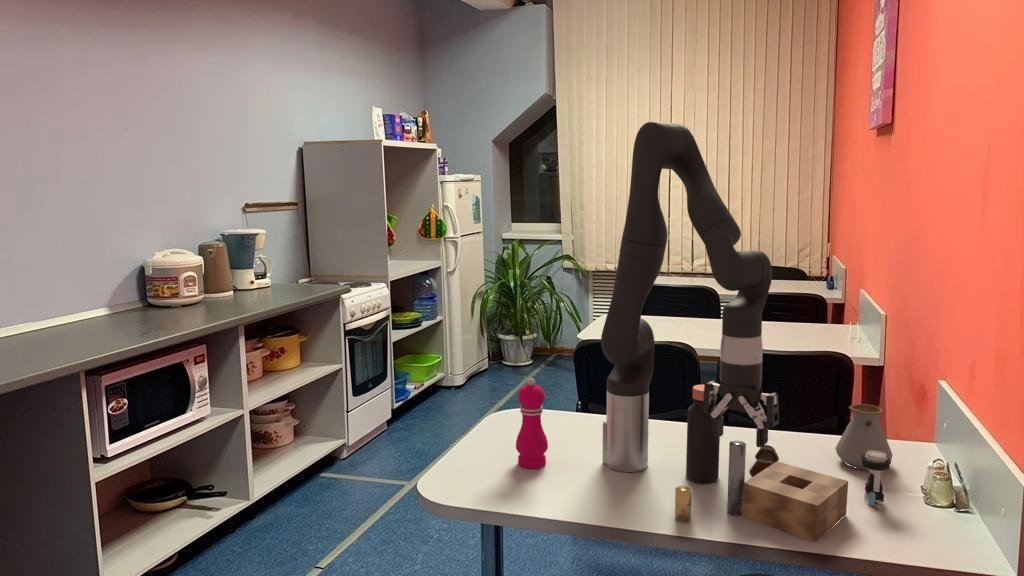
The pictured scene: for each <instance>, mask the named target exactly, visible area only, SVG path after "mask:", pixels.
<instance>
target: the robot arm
mask: <svg viewBox="0 0 1024 576" xmlns="http://www.w3.org/2000/svg"><path fill="white" fill-rule="evenodd" d="M632 151H633V152H632V162H631V175H630V186H629V195H628V202H627V210H626V216H625V221H624V227H623V231H622V234H621V235H622V237H621V242H620V246H619V247H620V248H619V254H618V263H617V268H616V272H615V273H616V274H615V278H614V284H613V289H612V296H611V299H610V304H609V307H608V311H607V315H606V318H605V321H604V323H603V324H604V325H603V329H602V332H601V336H600V345H601V347H600V348H601V350H602V353H603V355H604V357H605V358H606V359H607V360H608V361H609V362H610V363H611V364H614V366H613V368H612V370H611V372H610V374H609V375H608V377H607V378H606V420H605V421H603V423H602V463H603V464H605V465H606V466H607V467H608V468H609V469H612V470H614V471H616V472H617V471H618V472H623V473H637V472H641V471H643V470H645V469H647V468H648V464H649V460H648V459H649V422H650V421H649V420H650V419H649V413H650V410H649V409H650V384H651V381H652V378H653V374H654V360H655V359H654V358H655V335H654V331H653V329H652V326H651V325H650V324H649V323H648V321H646V319H643V318H642V312H643V308H644V306H645V303H646V299H647V298H648V295H649V293H650V292H651V289H652V288H653V286H654V284H655V282H656V280H657V278H658V276H659V274H660V271H661V269H662V266H663V262H664V259H665V253H666V248H667V243H668V229H667V228H668V227H667V224H666V220H665V216H664V213H663V211H662V207H661V203H660V200H659V189H660V188H659V186H660V182H661V181H660V179H661V174H662V171H663V169H664V170H672V171H673V172H674V173H675V174H676V176H677V177H678V178H679V179H680V180H681V182H682V184H683V186H684V188H685V193H686V206H687V207H686V209H687V210H686V211H687V214H688V218H689V221H690V222H691V224H692V226H693V228H694V230H695V231H696V233H697V234H698V237H699V239H701V241H702V243H703V244H704V246H705V249H706V254H707V258H708V262H709V265H710V270H711V272H712V275H713V278H714V279H715V281H716V283H718V285H719V286H720V287H721V288H723V289H725V290H727V291H729V292H737V294H736V297H735V298H734V299H732V300H731V301H729V302H728V303H726V304H724V306H723V308H722V315H721V317H722V318H721V319H722V320H721V321H722V322H721V323H722V324H721V326H722V327H721V340H720V347H719V348H720V350H719V357H720V358H719V359H720V360H719V381H720V382H719V383H720V384H719V383H717V382H716V381H715V380H712V381H708V382H707V383H705V384H703V385H704V399H703V412H704V413H708V414H710V415H711V416H712V431H713V433H714V435H715V437H720V438H721V437H723V435H724V416H723V414H724V413H725V412H726V411H727V410H728V409H729V410H730V411H738V412H740V413H743V414H745V413H747V414H748V417H750V419H752V420H753V421H754V423H755V425H756V426H757V428H756V435H755V436H756V439H755V440H756V442H755V443H756V445H755V446H756V447H757V448H759V449H760V448H761V447H763V446H764V445H767V444H768V441H769V428H773V427H776V425H779V423H780V412H779V411H780V410H779V394H778V393H777V392H772V393H765V392H763V390H762V382H763V381H762V380H763V354H764V352H763V351H764V349H763V348H764V347H763V338H762V334H763V333H762V332H763V331H762V330H763V327H762V326H763V311H764V308H765V305H766V303H767V298H768V295H769V292H770V288H771V285H772V280H773V266H772V263H771V260H770V258H769V256H768V255H767V254H766V253H765V252H763V251H761V250H758V249H752V250H751V249H750V250H743V251H742V250H741V251H737V250H736V249H735V247H734V246H735V245H737V243H738V242H739V241H740V240H741V237H742V232H741V228H740V227H739V225H738V223H737V221H736V220H735V218H734V217H733V215H732V214H731V212H730V211H729V209H728V208H727V205H726V204H725V203H724V201H723V199H722V198H721V196H720V194H719V192H718V190H717V188H716V187H715V185H714V182H713V180H712V177H711V176H710V173H709V170H708V168H707V166H706V163H705V160H704V158H703V156H702V154H701V151H700V149H699V146H698V144H697V141H696V139H695V137H694V135H693V134H692V132H691V131H690V129H688V127H686V126H685V125H683V124H680V123H675V122H674V123H672V122H666V121H664V122H663V121H647V122H646V123H644V124H642V126H641V127H640V128H639V129H638V132H637V133H636V136H635V139H634V143H633V150H632ZM716 393H717V394H719V395H720V397H721V398H722V399H721V401H719V402H718V404H717V405H716V402H715V395H716ZM761 401H763V405H764V406H765V408H766V412H765V410H764V408H763V407H762V404H761V403H760V402H761ZM715 406H716V407H715ZM765 413H766V414H765Z"/></svg>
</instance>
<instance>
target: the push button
mask: <svg viewBox="0 0 1024 576" xmlns="http://www.w3.org/2000/svg"><path fill="white" fill-rule="evenodd" d="M861 460H862V465H863V466H864V467H866V468H867V469H868V470H870V471H869V474H868V475H869V476H868V477H867V482H865V486H864V491H865V492H864V498H863V500H864V502H867V501H868V503H869V505H870V506H871V507H873V508H874V507H876V508H877V509H880V510H881V509H883V507H882V505H883V503H884V501H885V499H884V498H885V494H884V493H883V489H884V486H883V484H882V481H881V473H882V472H885V471H887V470H888V469H890V465H891V464H892V459H889V458H888V457H886V454H885V453H883V452H880V451H874V450H871V451H867V452H866V454H863V455H862V456H861Z"/></svg>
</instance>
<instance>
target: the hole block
mask: <svg viewBox="0 0 1024 576" xmlns="http://www.w3.org/2000/svg"><path fill="white" fill-rule="evenodd" d="M848 489H849V480H846V479H842V478H839V477H835V476H832V475H828V474H824V473H821V472H817V471H814V470H810V469H806V468H803V467H799V466H796V465H792V464H788V463H784V462H781V461H779V460H778V461H777V462H775V463H774V464H772V465H771V466H769V467H768V468H766V469H764V470H763V471H761V472H760V473H758V474H757V475H755V476H754V477H752V476H751V478H749V479H747V480H746V481H745V482H744V487H743V512H742V516H741V517H742V519H745V520H748V521H751V520H752V521H751V522H753V521H754V523H756V522H758V523H757V524H759V523H760V524H759V525H762V524H763V526H765V525H766V526H765V527H768V526H769V528H771V527H772V529H773V530H777V529H778V530H777V531H781V532H783V533H787V534H789V535H792V536H795V537H797V538H800V537H801V539H803V538H804V539H803V540H806V539H807V540H806V541H809V542H812V543H815V542H816V543H818V541H819V540H821V539H822V538H823V537H824V536H825V535H826V534H827V533H828V532H829V531H831V530H832V529H833V528H834V527H835V526H836V525H837V524H838V523H839V522H838V521H839V520H840V519H841V518H842V517H844V516H845V515H846V516H847V505H848V503H847V502H848V493H849V492H848V491H849V490H848ZM846 516H845V517H846ZM845 517H844V518H845ZM837 522H838V523H837ZM836 523H837V524H836ZM835 524H836V525H835ZM834 525H835V526H834ZM833 526H834V527H833ZM832 527H833V528H832ZM831 528H832V529H831ZM830 529H831V530H830ZM827 531H828V532H827ZM825 533H826V534H825ZM824 534H825V535H824ZM823 535H824V536H823ZM822 536H823V537H822ZM821 537H822V538H821Z"/></svg>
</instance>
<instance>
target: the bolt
mask: <svg viewBox="0 0 1024 576" xmlns="http://www.w3.org/2000/svg"><path fill="white" fill-rule="evenodd" d="M755 459H756V461H755V462H754V464H753V465H752V466H751V467H750V469H749V474H750V476H751V478H752V477H754V476H755V475H757V474H758V473H760V472H761V471H763V470H764V469H766V468H768V467H769V466H771V465H772V464H774V463H775V462H777V461H778V462H779V460H780V457H779V455H778V453H777V451H776V449H775V448H774V447H773V446H771V445H768V444H765V445H764V446H763V447H761V448H760V447H759V449H758V451H757V452H756V454H755Z"/></svg>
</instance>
